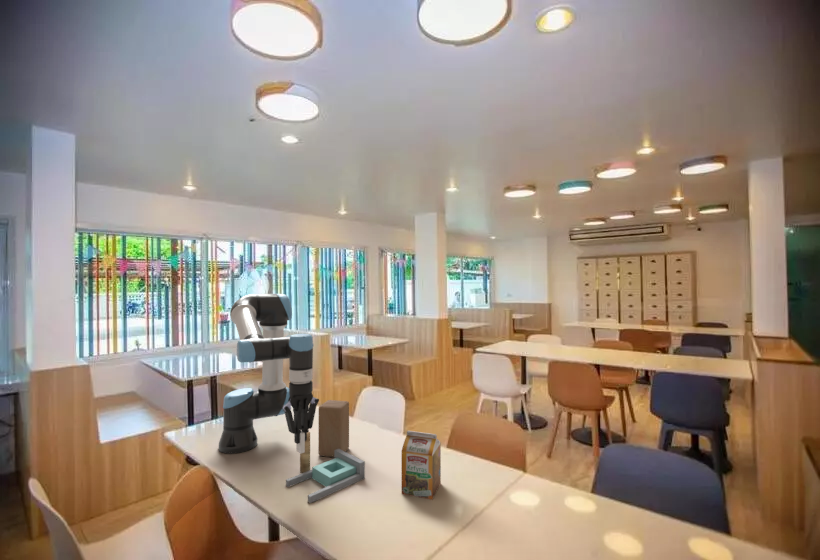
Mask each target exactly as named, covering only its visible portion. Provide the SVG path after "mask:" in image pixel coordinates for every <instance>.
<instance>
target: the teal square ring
mask: <svg viewBox="0 0 820 560" xmlns="http://www.w3.org/2000/svg"><path fill="white" fill-rule="evenodd" d="M311 470H312V478H311V479H313V480H314V481H315V482H317V483H319V484H320V485H322V486H324V488H325V487H327V486H329V485H332V484H334V483H336V482H339V481H341V480H343V479H345V478H348V477H350V476H352V475H355V474H356V467H355V466H354V465H352V464H350V463H348V462H346V461H344V460H342V459H340V458H338V457H337V458H335V459H334V458H332V459H330V460H328V461H325V462H321V463H319V464H316V465H315V466H312V468H311Z"/></svg>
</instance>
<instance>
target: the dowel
mask: <svg viewBox="0 0 820 560" xmlns="http://www.w3.org/2000/svg"><path fill="white" fill-rule="evenodd" d="M309 470H311V432H310V431H309V432H308V433H307V440H306V441H305V452H304V453H302V454H300V453H299V472H300V473H299V474H302V473H304V472H307V471H309Z"/></svg>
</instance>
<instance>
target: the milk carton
mask: <svg viewBox="0 0 820 560" xmlns="http://www.w3.org/2000/svg"><path fill="white" fill-rule="evenodd" d="M437 436H438V435H437V433H429V432H421V431H414V430H407V431H406V436H405V439H404V441H403V445H402V449H401V495H405V496H411V497H416V498H417V497H418V498H422V499H427V500H432V501H433V499H434V498H435V496H436V493H437V491H439V490H438V489H439V488H440V486H441V483H442V482H441V481H442V480H441V479H442V478H441V476H442V475H441V472H442V471H441V470H442V469H441V461H442V460H441V458H442V457H441V456H442V455H441V451H442V450H441V447H442V446H441V443H442V442H441V441H440V439H438V437H437Z"/></svg>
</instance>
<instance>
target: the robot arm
mask: <svg viewBox="0 0 820 560" xmlns="http://www.w3.org/2000/svg"><path fill="white" fill-rule="evenodd" d="M229 313H230V320H231V321H232V323H233V324H234V325H235V327H236V330H237V333H238V336H239V341H237V343H236V358H237V361H238V362H239V363H250V364H251V363H255V362H262V369H261V370H262V372H261V374H262V375H261V377H262V379H261V383H259V385H258V388H257V389H258V390H254V389H253V388H251V387H243V388H238V389H234V390H232V391H230V392H228V393H226V395H224V397H223V405H222V409H223V411H222V412H223V413H222V414H223V415H222V416H223V422H222V423H223V425H222V426H223V427H222V434H221V436H220V438H219V441H218V451H219V452H220V453H222V454H238V453H243V452H244V453H245V452H247V451H250V450H253V449H254V448H255V447H256V446H257V445H258V436H257V434H256V430H255V428H254V420H258V419H264V418H266V419H267V418H270V417H278V416H282V415H285V419H286V420H285V421H286V425H287V429H288V432H289V433H291V434H292V435H294V438H293V440H294V443H295V444H296V445H295V446H296V451H295V452H297V453H299V455H300V454H302V453H304V452H305V441H306V440H307V433H308V432H310V429H312V428H313V425H314V419H315V415H316V410H317V406H318V404H319V402H320V399H319V398H317V397H315V396H314V395H313V390H314V389H313V384H314V383H313V381H312V380H313V373H314V372H313V370H314V369H313V367H314V366H313V365H314V364H313V363H314V362H313V361H314V360H313V359H314V353H313V352H314V340H313V338H314V337H313V336H312V334H310V333H294V334H289V335H286V336H284V333H285V332H284V331H285V330H284V329H285V328H286V327H287V326H288V321H291V319H292V316H293V309H292V304H291V301H290V297H289V296H288V295H287V294H284V293H261V294H259V293H258V294H256V293H252V294H247V295H244V296H242V297H240V298H239V299H237V300H236V301H235V302H234V304H233V305H232V306H231V308H230V311H229ZM258 322H259V323H258ZM261 328H262V330H261ZM286 359H289V360H288V361H289V370H288V371H289V373H288V380H289V383H288V385H289V386H288V387H287V384H286V383H285V382H284V378H283V377H284V360H286ZM292 411H293V412H292Z"/></svg>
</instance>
